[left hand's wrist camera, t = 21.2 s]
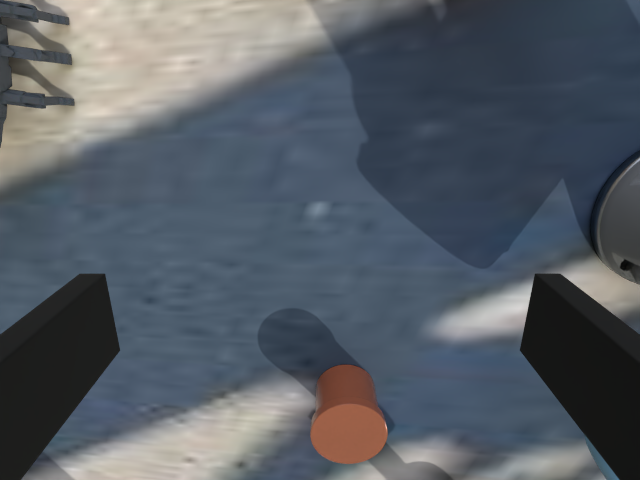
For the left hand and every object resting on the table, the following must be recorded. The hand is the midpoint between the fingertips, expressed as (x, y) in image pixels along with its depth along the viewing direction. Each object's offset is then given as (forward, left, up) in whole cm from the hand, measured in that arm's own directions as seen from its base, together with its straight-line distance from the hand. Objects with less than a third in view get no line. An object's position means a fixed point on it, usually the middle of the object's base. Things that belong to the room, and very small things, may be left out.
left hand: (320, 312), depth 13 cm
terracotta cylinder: (-3, +27, -29) cm, 40 cm away
